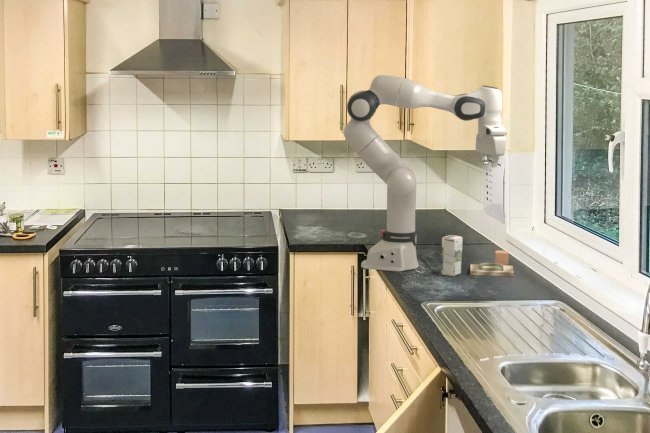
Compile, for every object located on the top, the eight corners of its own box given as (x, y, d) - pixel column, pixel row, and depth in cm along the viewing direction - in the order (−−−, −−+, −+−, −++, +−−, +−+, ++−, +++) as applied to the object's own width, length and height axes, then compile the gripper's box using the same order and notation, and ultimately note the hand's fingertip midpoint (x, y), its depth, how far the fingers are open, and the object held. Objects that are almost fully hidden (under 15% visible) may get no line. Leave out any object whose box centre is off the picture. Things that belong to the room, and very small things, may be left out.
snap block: (495, 268, 341) (495, 253, 340) (495, 265, 346) (495, 250, 345) (508, 268, 341) (508, 253, 340) (507, 265, 345) (508, 250, 344)
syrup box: (448, 271, 335) (449, 234, 333) (461, 274, 331) (462, 236, 329) (440, 274, 331) (441, 236, 328) (454, 276, 327) (454, 238, 325)
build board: (470, 274, 330) (470, 268, 329) (470, 267, 342) (470, 261, 341) (513, 276, 327) (513, 270, 327) (512, 269, 339) (512, 263, 338)
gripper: (471, 127, 340) (471, 163, 343) (492, 131, 321) (492, 169, 323) (487, 127, 342) (486, 162, 344) (508, 130, 322) (508, 168, 324)
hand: (489, 165), depth 333 cm, fingers open, 8 cm apart
